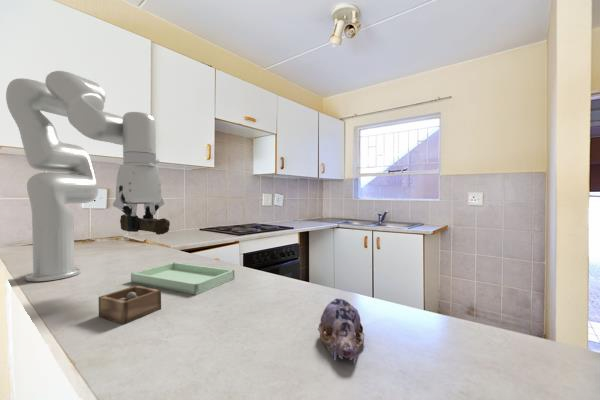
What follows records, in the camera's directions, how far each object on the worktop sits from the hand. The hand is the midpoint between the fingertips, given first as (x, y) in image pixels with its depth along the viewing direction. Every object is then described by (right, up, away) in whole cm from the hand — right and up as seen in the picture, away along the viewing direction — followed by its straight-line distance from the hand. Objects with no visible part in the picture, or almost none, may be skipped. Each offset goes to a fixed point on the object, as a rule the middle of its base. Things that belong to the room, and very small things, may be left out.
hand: (141, 230), depth 74 cm
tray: (+8, -15, +7) cm, 19 cm away
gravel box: (+7, -16, -16) cm, 23 cm away
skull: (+49, -16, -29) cm, 59 cm away
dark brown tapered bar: (0, -1, -1) cm, 1 cm away
